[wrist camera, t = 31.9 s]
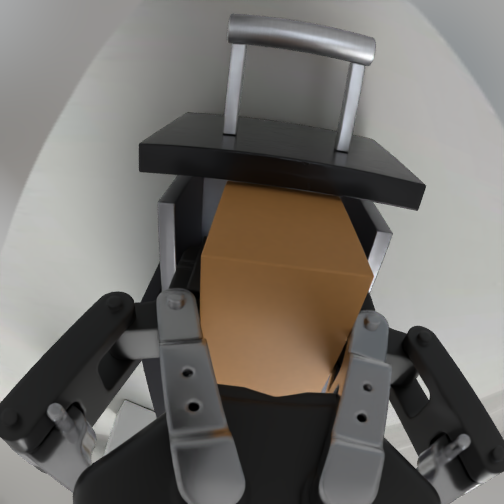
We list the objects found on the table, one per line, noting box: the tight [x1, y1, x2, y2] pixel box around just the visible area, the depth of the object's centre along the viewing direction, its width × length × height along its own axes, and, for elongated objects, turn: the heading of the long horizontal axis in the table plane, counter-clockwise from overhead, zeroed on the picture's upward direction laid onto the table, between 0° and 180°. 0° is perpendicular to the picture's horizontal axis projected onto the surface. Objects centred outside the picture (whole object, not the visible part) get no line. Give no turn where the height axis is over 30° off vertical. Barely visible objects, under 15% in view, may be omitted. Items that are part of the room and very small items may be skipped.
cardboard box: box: [200, 181, 374, 397], centre depth 12 cm, size 6×5×5 cm
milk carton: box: [104, 400, 157, 456], centre depth 33 cm, size 7×7×19 cm
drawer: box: [139, 14, 426, 293], centre depth 17 cm, size 19×11×8 cm, turn 173°
